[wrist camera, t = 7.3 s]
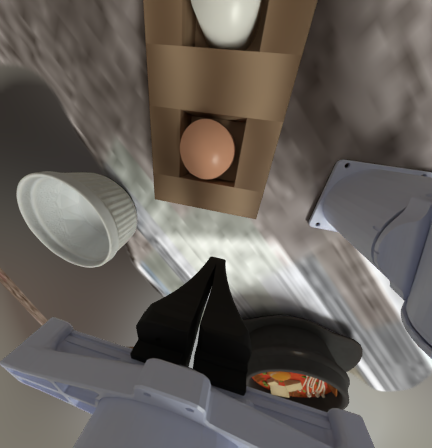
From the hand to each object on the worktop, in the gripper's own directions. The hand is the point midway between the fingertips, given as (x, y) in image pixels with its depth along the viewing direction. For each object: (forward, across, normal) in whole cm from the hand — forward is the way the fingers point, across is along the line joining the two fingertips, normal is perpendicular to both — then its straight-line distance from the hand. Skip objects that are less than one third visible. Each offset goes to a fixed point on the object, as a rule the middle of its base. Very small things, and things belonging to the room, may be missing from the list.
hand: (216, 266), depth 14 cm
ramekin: (+10, +20, +2) cm, 22 cm away
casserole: (+10, -15, +23) cm, 29 cm away
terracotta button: (+8, +3, -9) cm, 12 cm away
